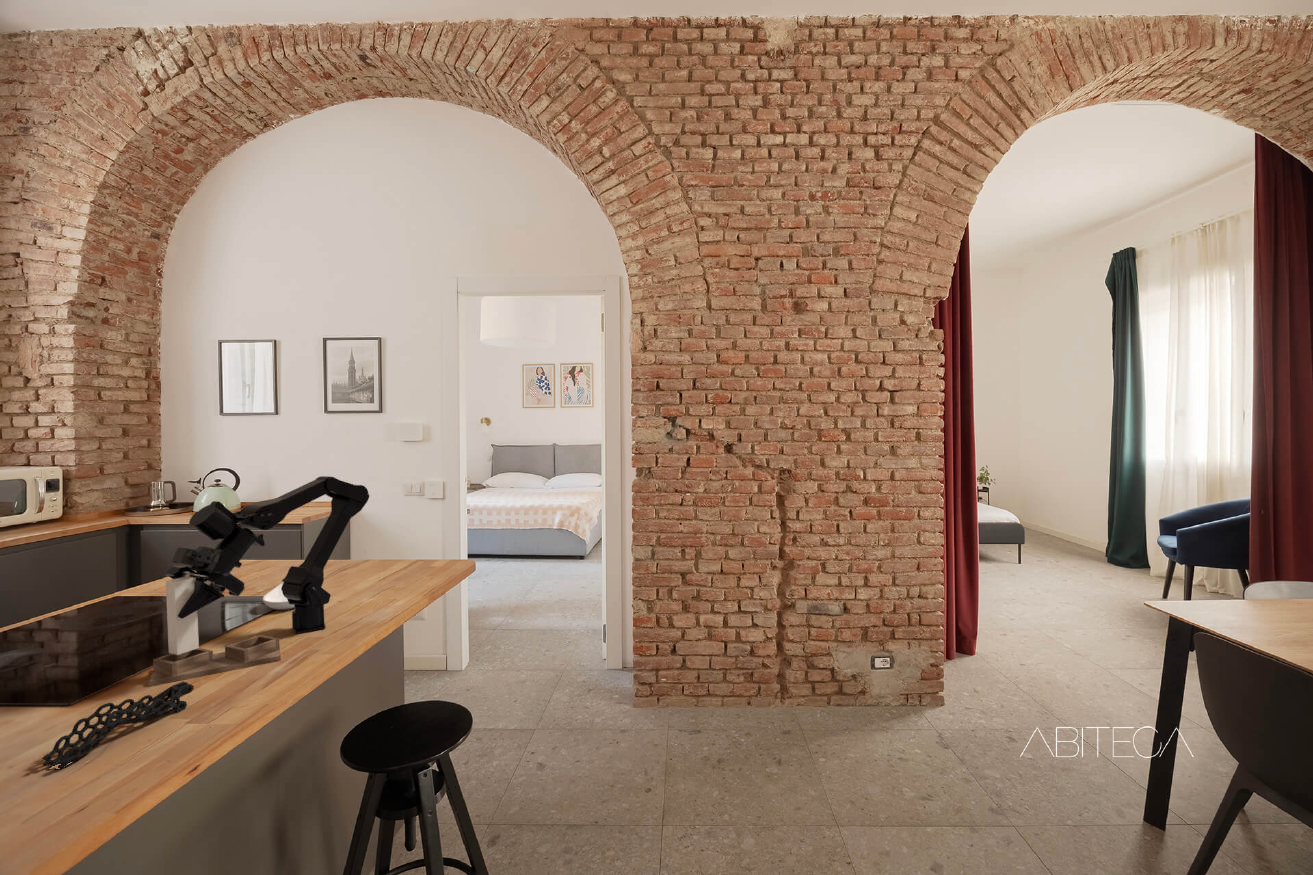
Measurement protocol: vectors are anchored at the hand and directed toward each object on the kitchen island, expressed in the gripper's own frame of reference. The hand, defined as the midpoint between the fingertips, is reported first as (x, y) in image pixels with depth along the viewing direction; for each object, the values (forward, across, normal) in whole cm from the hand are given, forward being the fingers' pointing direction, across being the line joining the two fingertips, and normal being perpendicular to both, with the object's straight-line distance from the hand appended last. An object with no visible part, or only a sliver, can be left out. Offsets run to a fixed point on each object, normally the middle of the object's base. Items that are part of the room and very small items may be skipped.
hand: (175, 616), depth 124 cm
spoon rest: (-22, -26, +40) cm, 53 cm away
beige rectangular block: (+4, 0, +6) cm, 8 cm away
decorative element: (+21, +19, -4) cm, 29 cm away
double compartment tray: (+4, +3, +13) cm, 14 cm away
